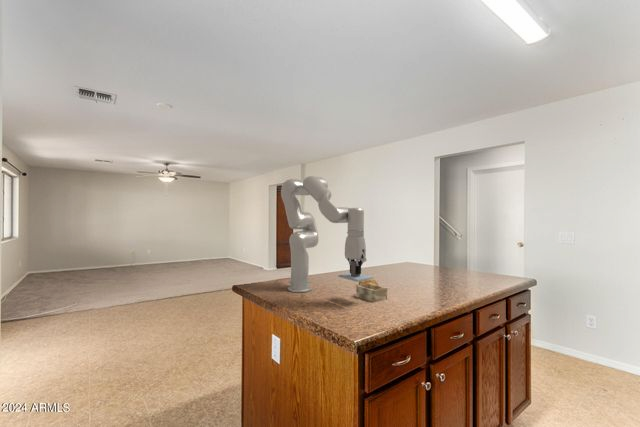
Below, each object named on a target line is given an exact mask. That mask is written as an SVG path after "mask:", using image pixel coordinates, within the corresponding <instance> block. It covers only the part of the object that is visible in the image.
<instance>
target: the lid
mask: <svg viewBox="0 0 640 427" xmlns="http://www.w3.org/2000/svg"><path fill="white" fill-rule="evenodd" d="M355 266H357V265H356V259H355V261H351V273H350V272H349V273H343V274H337V275H338V276H337V277H338V278H341V279H346V280H349V281H354V282H357V283H359V281H364V280H370V279H374V277H373V276H369V275H365V274H362V273H361V274H357V275H356V274H355Z"/></svg>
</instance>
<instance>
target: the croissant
mask: <svg viewBox="0 0 640 427" xmlns="http://www.w3.org/2000/svg"><path fill="white" fill-rule="evenodd" d="M368 283H370V284H374V285H378V286H379V284H378V283H377V281H376V280H375V278H373V279H370V280H364V281H359V282H358V285H363V284H368Z"/></svg>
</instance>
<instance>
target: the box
mask: <svg viewBox="0 0 640 427" xmlns="http://www.w3.org/2000/svg"><path fill="white" fill-rule="evenodd" d="M355 291H356V293H355V294H356V295H355V296H356V298H358V299H359V298H360V299H363V300H366V301H369V302H372V303H379V302H382V301H385V300H388V287H384V286H381V285H379V284H378V285H374V284H370V283H368V284H363V285H359V284H358V285H356V290H355Z"/></svg>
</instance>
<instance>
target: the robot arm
mask: <svg viewBox="0 0 640 427" xmlns="http://www.w3.org/2000/svg"><path fill="white" fill-rule="evenodd" d="M328 186H329V183H328V181H327V180H326V179H325V178H323V177H321V176H320V177H319V176H314V175H312V176H306V177H305V178H304V179H297V178H291V179H287V180H285V181H284V182H283V183H282V185H281V188H280V189H281V190H280V196H281V200H282V203H283V205H284V209H285V214H286V218H287V223H288V226H289V228H290V229H292V230H299V231H295V232H292V233H291V235H290V236H289V240H288V241H289V248H290V280H289V281H288V284H289V286H288V287H287V291H289V292H291V293H306V292H307V293H308V292H310V291H311V290H312V286H310V285H309V254H308V251H307V249H310V248H314V247H316V246H317V245H318V244H319V234H318V233H319V232H318V229H317V224H316V220H315V218H314V215H313V214H312V213H310V212H307V211H303V210H302V207H301V204H300V201H299V200H298V198H297V197H296V196H311V197H312V198H313V199H314V200H315V201H316V202H317V204H318V206H317V207H318V210H319V212H320V213H321V215H322V216H324V218H325V219H326V220H327V221H329V222H330V223H332V224H346V223H347V232H346V233H347V236H346V237H345V243H344V258H345V259H346V260H347V261H348V265H349V273H351V261H355V260H356V265H357V266H355V274H356V275H357V274H361V275H362V266H363V264H364V263H365V262H366V261H367V257H366V255H367V254H366V253H367V251H366V239H365V236H364V234H365V221H364V220H365V211H364V209H363V207H341V206H339V207H338V206H337V207H336V206H335V205H334V204H333V203H332V202H331V201H330V199H332V198H331V197H332V192H331V190H330V189H329V188H328Z"/></svg>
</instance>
